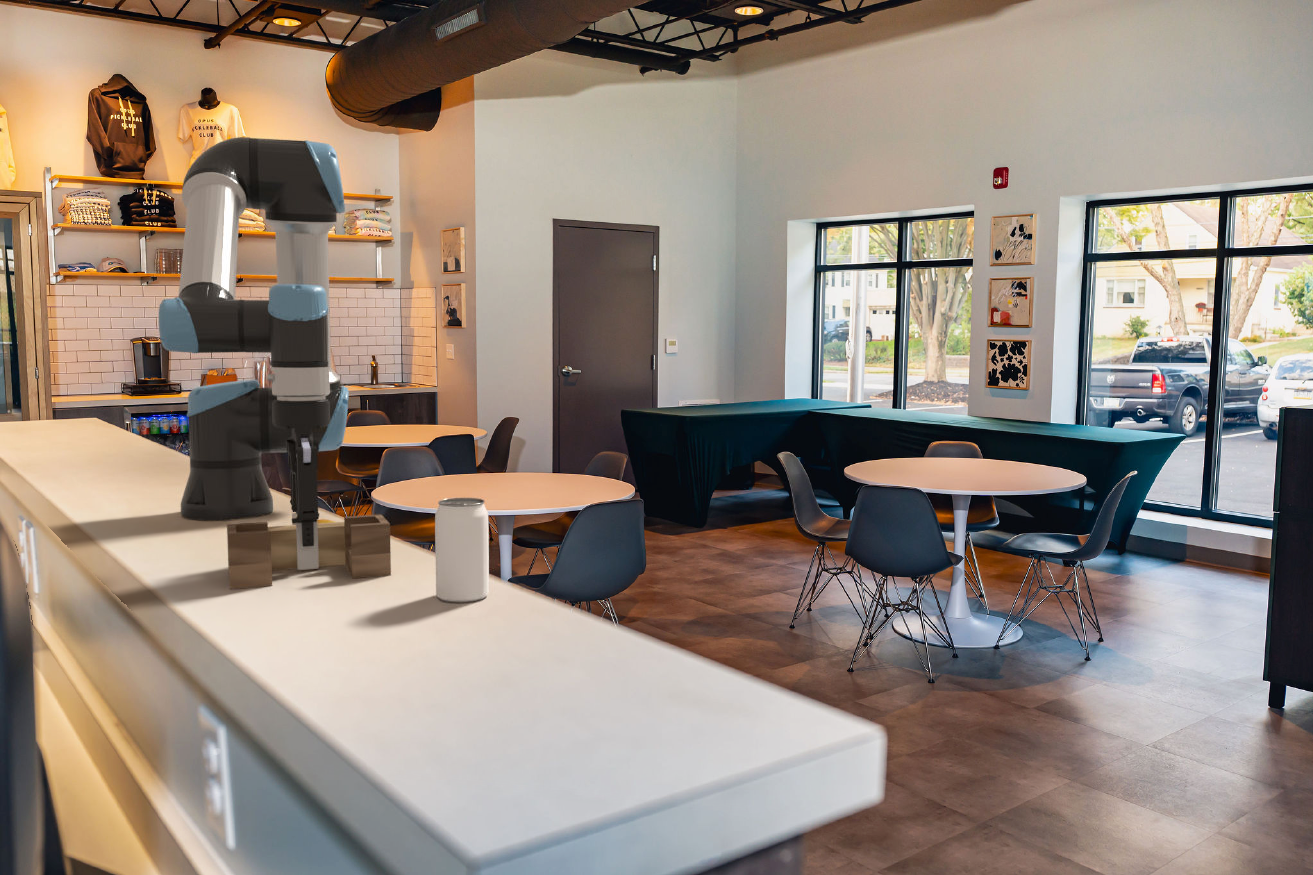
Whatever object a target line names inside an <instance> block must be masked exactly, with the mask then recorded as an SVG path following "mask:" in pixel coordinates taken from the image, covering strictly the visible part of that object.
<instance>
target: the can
mask: <svg viewBox="0 0 1313 875" xmlns="http://www.w3.org/2000/svg"><path fill="white" fill-rule="evenodd" d="M485 502H486V501H485V500H484V499H482V498H478V497H477V498H476V497H453V498H445V499H441V500H439V501H438V508H437V509H436V512H435V517H434V532H435V534H434V538H435V540H434V542H435V544H434V545H435V546H434V548H435V555H434V556H435V592H436V593H435V595H436V597H437V598H438V599H439V600H441V601H442V602H446V603H454V604H462V603H463V604H465V603H474V602H477V601H478V602H479V601H481V600H484V599H485V598H486V597H487V596H488V595H489V593H490V592H489V590H490V572H489V571H490V569H489V568H490V566H489V565H490V559H489V557H490V556H489V555H490V553H489V552H490V548H489V546H490V545H489V541H490V539H489V512H488V510H487V508H486V506H485Z"/></svg>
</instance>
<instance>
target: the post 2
mask: <svg viewBox="0 0 1313 875" xmlns="http://www.w3.org/2000/svg"><path fill="white" fill-rule="evenodd" d="M343 522H344V529H345V565H344V566H345V568H346V570H347V571H348V573H349V575H350V576H351V578H352V579H359V578H360V579H363V578H373V577H381V576H382V577H383V576H391V575H392V569H391V568H392V561H391V559H392V558H391V557H392V556H391V523H390V522H389V521H388V520H387V519H386V518H385V517H384V516H383V515H382V514H381V513H379V514H369V515H368V514H367V515H366V514H365V515H352V516H351V515H350V516H343Z"/></svg>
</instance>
